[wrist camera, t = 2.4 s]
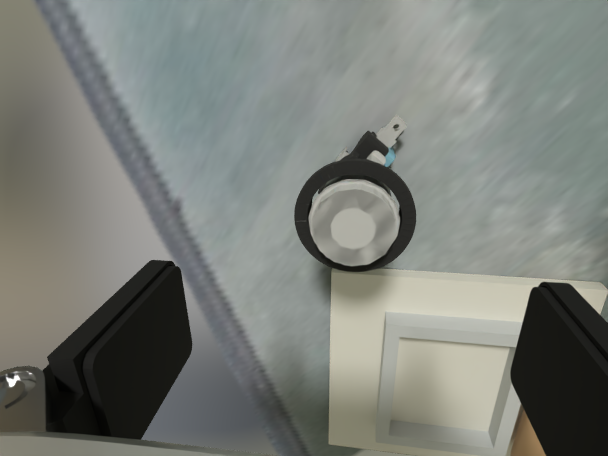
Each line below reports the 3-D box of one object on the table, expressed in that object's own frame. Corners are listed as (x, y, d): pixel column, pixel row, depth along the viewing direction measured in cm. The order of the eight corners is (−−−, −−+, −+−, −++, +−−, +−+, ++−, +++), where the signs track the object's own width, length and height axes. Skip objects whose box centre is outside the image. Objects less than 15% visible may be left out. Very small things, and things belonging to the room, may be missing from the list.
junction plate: (600, 282, 26) (638, 319, 22) (537, 460, 33) (558, 510, 29) (332, 265, 28) (327, 295, 25) (329, 434, 36) (325, 477, 32)
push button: (368, 89, 23) (368, 110, 14) (433, 145, 24) (473, 200, 15) (302, 171, 26) (266, 233, 17) (362, 220, 27) (359, 304, 17)
